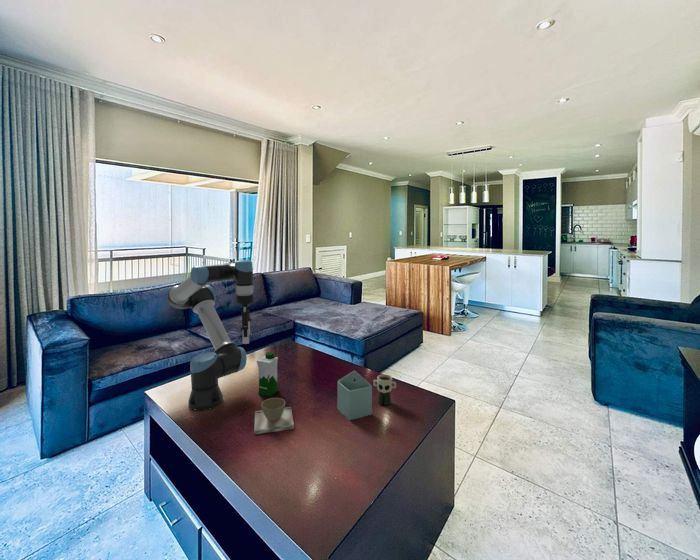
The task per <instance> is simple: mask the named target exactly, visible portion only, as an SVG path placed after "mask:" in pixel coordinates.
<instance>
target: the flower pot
mask: <svg viewBox="0 0 700 560" xmlns="http://www.w3.org/2000/svg"><path fill="white" fill-rule="evenodd" d="M260 405H261V410H263V413H264V415H265V417H266V418H267V420H268V421H270V422H275V421H278V420H279V419H280V417H281V416H282V413H283V411H284V408H285V407H286V401H285V399H283V398H280V397H270V398H267V399H265V400H263V401H262V402H261V404H260Z"/></svg>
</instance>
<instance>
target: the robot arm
mask: <svg viewBox="0 0 700 560" xmlns="http://www.w3.org/2000/svg"><path fill="white" fill-rule="evenodd" d="M231 280H233V281H235V294H236V296H235V297H236V304H239V305H241V306H240V315H241V327H240V331H241V332H242V333H241V334H242V335H241V336H242V344H243V345H247V344H250V335H251V321H252V318H251V316H250V313H251V311H250V310H251V306H250V304H252V303H254V299H255V298H254V297H255V295H254V294H253V293H254V289H255V286H254V268H253V262H252V261H251V260H247V259H246V260H245V259H243V260H242V259H241V260H240V259H239V260H236V261H235V263H232V262H227V263H223V264H222V263H220V264H207V265H197V266H196V265H195V266H193V267H192V268H191V269H190V275H189V276H188V277H187V278H186V279H185V280H184V281H182V282H180V284H179V285H175V286H173V287H171V289H169V291H168V292H167V294H166V300H167V302H168V304H169V305H170V306H171V307H173V308H174V309H179V310H185V309H186V310H187V309H192V311H193V313H195V314H197V315H198V317H199V319H200V322H201V323H202V325H203V328H204V330H205V332H206V333H207V336H208V338H209V340H210V342H211V344H212V346H213V349H214V351H207V352H206V351H205V352H202V353H199V354H197V355H195V356H194V357H193V358H191V360H190V363H189V365H190V367H189V371H190V372H189V373H190V381H191V391H190V394H189V397H188V398H189V399H188V401H187V402H188V403H187V404H188V408H189V407H190V408H192V409H196V410H202V411H205V410H204V409H208V410H210V409H209V408H212V409H214V408H216V407H218V406H220V405H221V404H223V401H224V395H223V393H222V390H221V388H220V385H219V379H220V378H223V377H227V376H229V375H231V374H235V373H236V374H237V373H238V372H240V371H243V370H244V369H245V368H246V365H247V352H246V350H245V349H244V347H241V346H238V345H237V344H236V343H235V342H233V341H232V340H231V339H230V337H229V335H228V333H227V330H226V328H225V326H224V324H223V322H222V321H221V318H220V316H219V314H218V312H217V310H216V308H215V305H216V300H217V295H216V291H215V289H214V288H213V287H212V286H211V285H209V283H214V282H221V281H223V282H224V281H231ZM219 404H220V405H219ZM213 407H214V408H213ZM190 408H189V409H190ZM192 409H191V410H192ZM196 410H195V411H196Z"/></svg>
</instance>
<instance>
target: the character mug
mask: <svg viewBox="0 0 700 560" xmlns="http://www.w3.org/2000/svg"><path fill="white" fill-rule="evenodd" d="M372 384H373V387H377V390H378V396H377V397H378V398H377V403H378V404H380V405H381V404H382V405H384V406H388V405H387V404H389V405H391V402H392V400H391V399H392V397H391V391H392V389H397V382H396V381H393V377H392V376H391V374H386V373H385V374H379V375H377V379H373V383H372Z"/></svg>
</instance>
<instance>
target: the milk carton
mask: <svg viewBox="0 0 700 560" xmlns="http://www.w3.org/2000/svg"><path fill="white" fill-rule="evenodd" d="M278 361H279V357H277V356H275V355H274V352H272V351H270V352H266V353H265V355H263V356H262V357H260V358H259V359H257V360H256V365H257V369H258V395H261V396H266V397H272V396H273V395H275V394H276V393H277V392H278V391H279V385H278V384H279V383H278V363H279V362H278Z"/></svg>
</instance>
